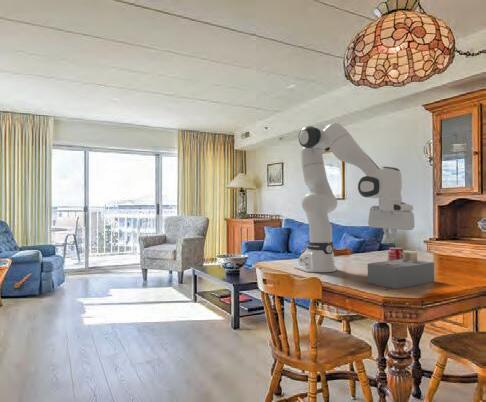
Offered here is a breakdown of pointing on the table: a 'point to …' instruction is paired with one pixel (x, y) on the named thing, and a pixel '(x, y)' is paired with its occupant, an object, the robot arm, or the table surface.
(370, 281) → the block
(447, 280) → the table surface
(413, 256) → the peg
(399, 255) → the soda can
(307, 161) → the robot arm
